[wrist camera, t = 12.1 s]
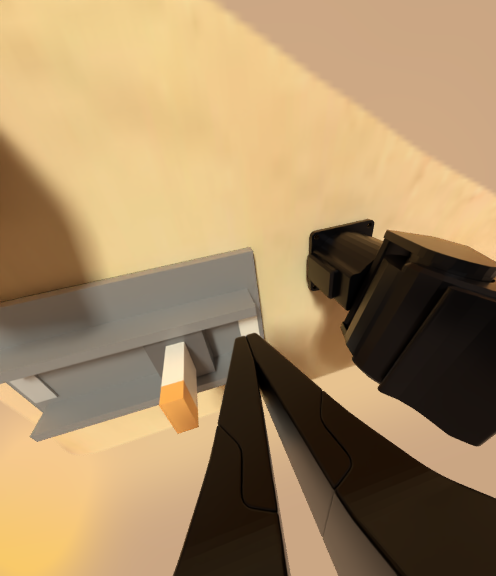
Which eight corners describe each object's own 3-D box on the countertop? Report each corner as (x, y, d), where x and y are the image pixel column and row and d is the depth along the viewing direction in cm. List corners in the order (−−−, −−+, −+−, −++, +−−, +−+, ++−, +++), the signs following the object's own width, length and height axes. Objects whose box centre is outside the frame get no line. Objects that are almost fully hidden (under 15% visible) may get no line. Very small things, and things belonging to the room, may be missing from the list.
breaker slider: (199, 314, 20) (204, 381, 14) (213, 356, 24) (222, 426, 17) (145, 328, 20) (125, 405, 13) (167, 369, 23) (159, 447, 17)
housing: (249, 246, 19) (262, 265, 16) (265, 362, 28) (276, 389, 25) (-55, 314, 16) (-117, 354, 13) (68, 420, 25) (49, 461, 21)
